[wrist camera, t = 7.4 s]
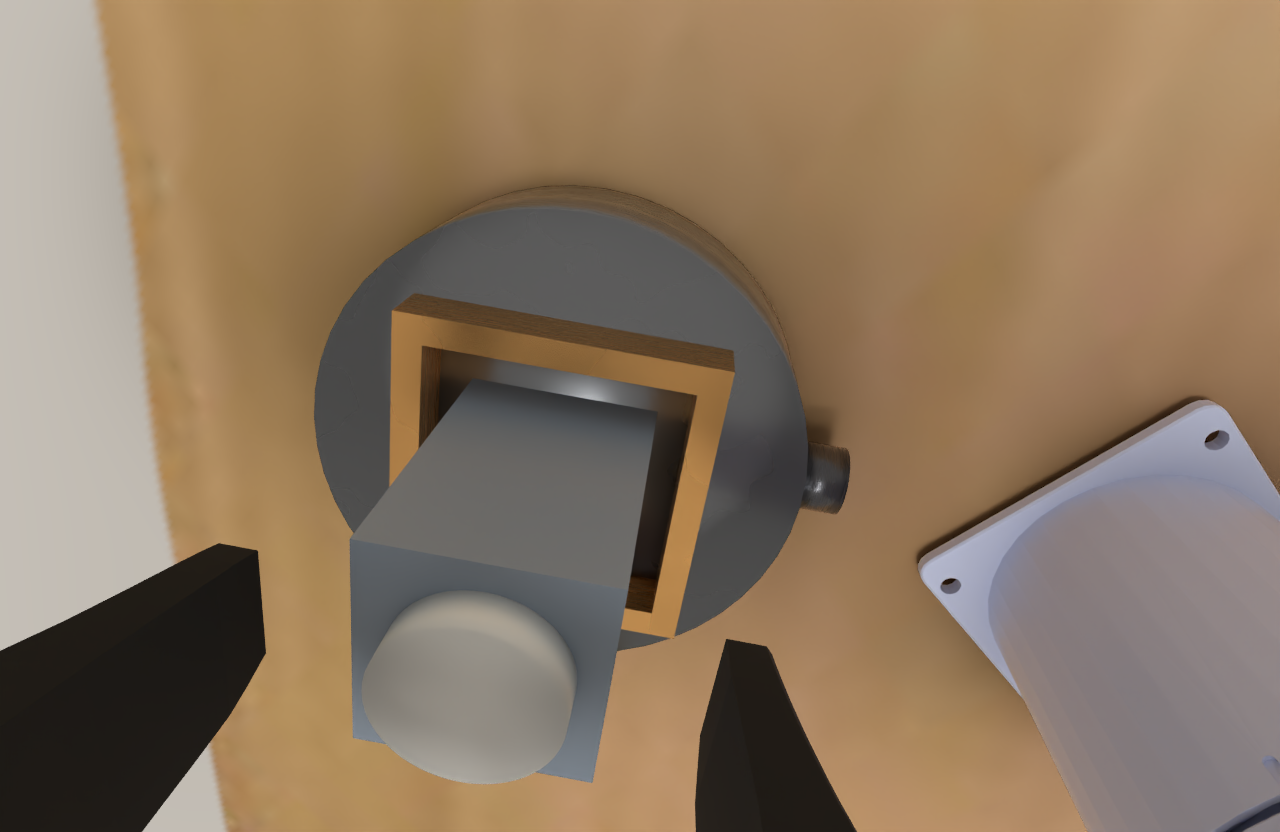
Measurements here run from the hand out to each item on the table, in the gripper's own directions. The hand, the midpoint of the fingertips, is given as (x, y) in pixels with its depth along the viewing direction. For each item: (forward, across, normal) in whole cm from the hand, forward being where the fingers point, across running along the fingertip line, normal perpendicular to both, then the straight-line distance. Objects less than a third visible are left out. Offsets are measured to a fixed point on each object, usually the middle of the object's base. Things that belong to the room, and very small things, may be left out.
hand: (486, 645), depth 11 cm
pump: (+6, 0, 0) cm, 6 cm away
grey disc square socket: (+9, 0, 0) cm, 9 cm away
